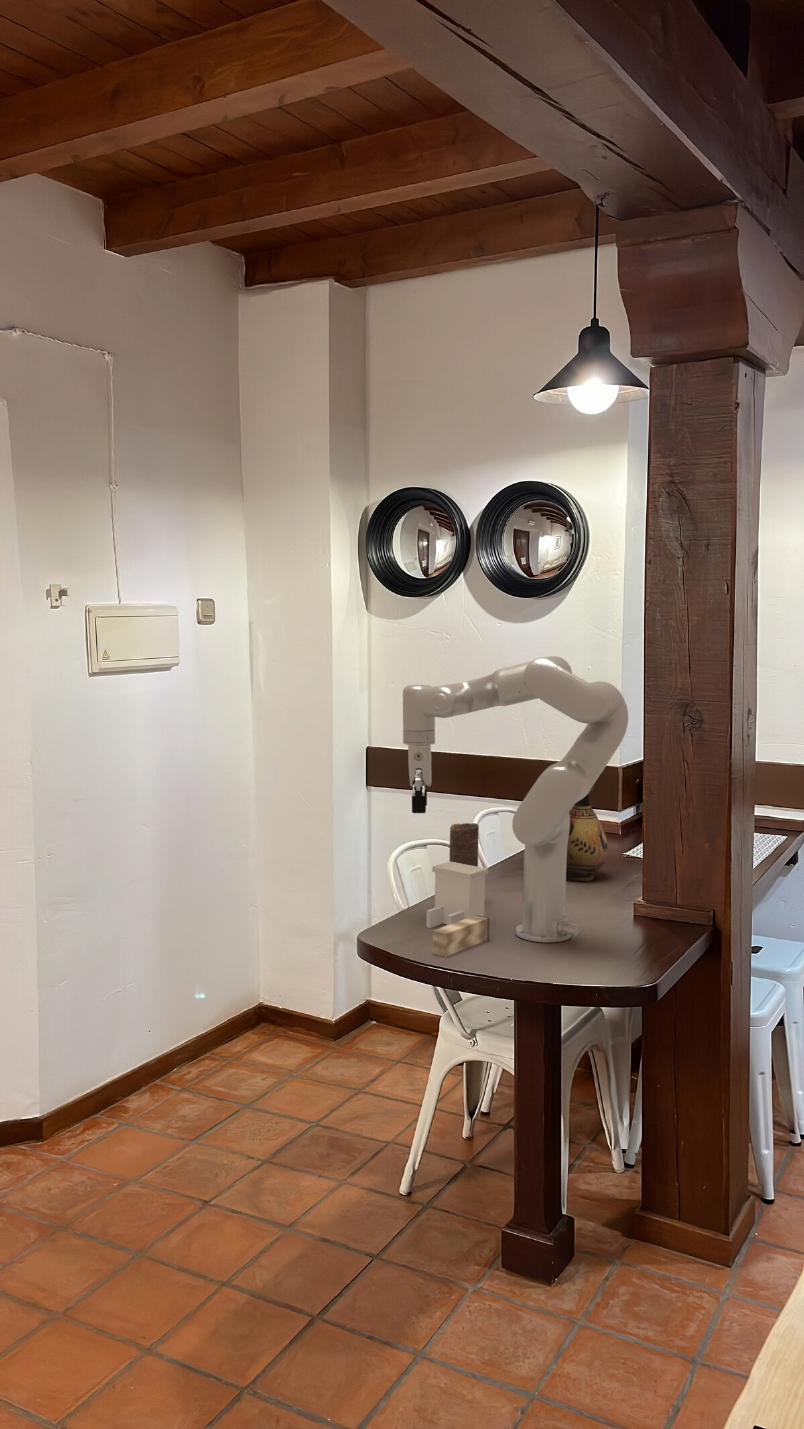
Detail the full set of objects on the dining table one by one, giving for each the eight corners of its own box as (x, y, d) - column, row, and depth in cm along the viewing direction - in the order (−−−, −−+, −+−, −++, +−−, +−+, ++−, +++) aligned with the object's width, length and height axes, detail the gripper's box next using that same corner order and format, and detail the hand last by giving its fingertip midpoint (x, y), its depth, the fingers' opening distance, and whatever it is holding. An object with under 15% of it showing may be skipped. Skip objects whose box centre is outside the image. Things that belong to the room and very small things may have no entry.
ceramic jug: (611, 884, 290) (614, 774, 287) (554, 883, 290) (556, 773, 287) (601, 869, 307) (604, 765, 304) (546, 868, 307) (549, 764, 304)
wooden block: (445, 956, 228) (445, 933, 227) (432, 953, 230) (432, 930, 229) (489, 939, 240) (489, 917, 240) (476, 936, 242) (476, 914, 242)
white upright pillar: (449, 915, 259) (450, 861, 258) (487, 924, 252) (488, 868, 251) (419, 925, 250) (420, 870, 249) (457, 935, 243) (458, 877, 242)
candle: (475, 907, 266) (476, 827, 264) (446, 905, 268) (447, 826, 266) (479, 899, 274) (480, 821, 272) (450, 897, 275) (451, 820, 273)
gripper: (434, 741, 244) (434, 815, 246) (435, 733, 262) (436, 803, 263) (401, 741, 245) (401, 815, 246) (404, 733, 262) (405, 803, 263)
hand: (419, 809), depth 255 cm, fingers open, 9 cm apart
